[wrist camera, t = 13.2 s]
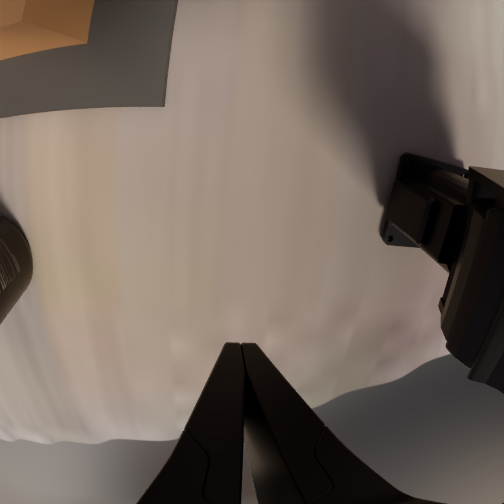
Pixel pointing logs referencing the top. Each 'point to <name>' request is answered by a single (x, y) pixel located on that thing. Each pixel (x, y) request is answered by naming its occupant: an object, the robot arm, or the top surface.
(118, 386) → the top surface
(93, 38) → the dark gray mat
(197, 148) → the top surface
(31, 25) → the rounded wooden cube
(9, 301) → the supplement bottle
